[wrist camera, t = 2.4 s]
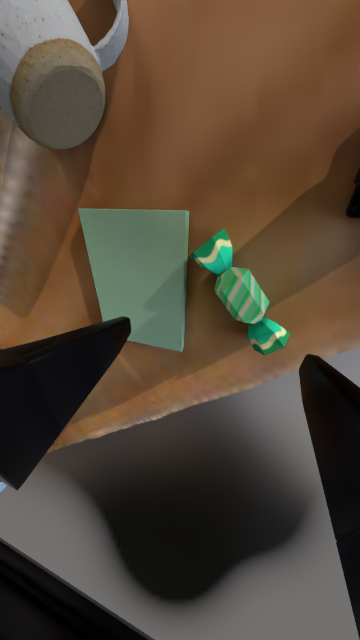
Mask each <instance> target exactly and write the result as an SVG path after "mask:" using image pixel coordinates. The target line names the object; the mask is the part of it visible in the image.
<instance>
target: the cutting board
mask: <svg viewBox="0 0 360 640" xmlns="http://www.w3.org/2000/svg"><path fill="white" fill-rule="evenodd" d="M78 211H79V216H80V220H81V225H82V229H83V234H84V238H85V243H86V247H87V252H88V256H89V261H90V265H91V270H92V274H93V279H94V283H95V288H96V292H97V296H98V301H99V305H100V310H101V314H102V319H103V322H104V321H108V320H111V319H114V318H118V317H121V316H125V317H129V318H130V322H131V334H130V336H129V337H128V339H127V340H128V341H133V342H137V343H142V344H146V345H151V346H156V347H160V348H165V349H169V350H174V351H178V352H182V350H183V348H184V331H185V306H186V282H187V258H188V234H189V211H185V210H133V209H82V208H78Z"/></svg>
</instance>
